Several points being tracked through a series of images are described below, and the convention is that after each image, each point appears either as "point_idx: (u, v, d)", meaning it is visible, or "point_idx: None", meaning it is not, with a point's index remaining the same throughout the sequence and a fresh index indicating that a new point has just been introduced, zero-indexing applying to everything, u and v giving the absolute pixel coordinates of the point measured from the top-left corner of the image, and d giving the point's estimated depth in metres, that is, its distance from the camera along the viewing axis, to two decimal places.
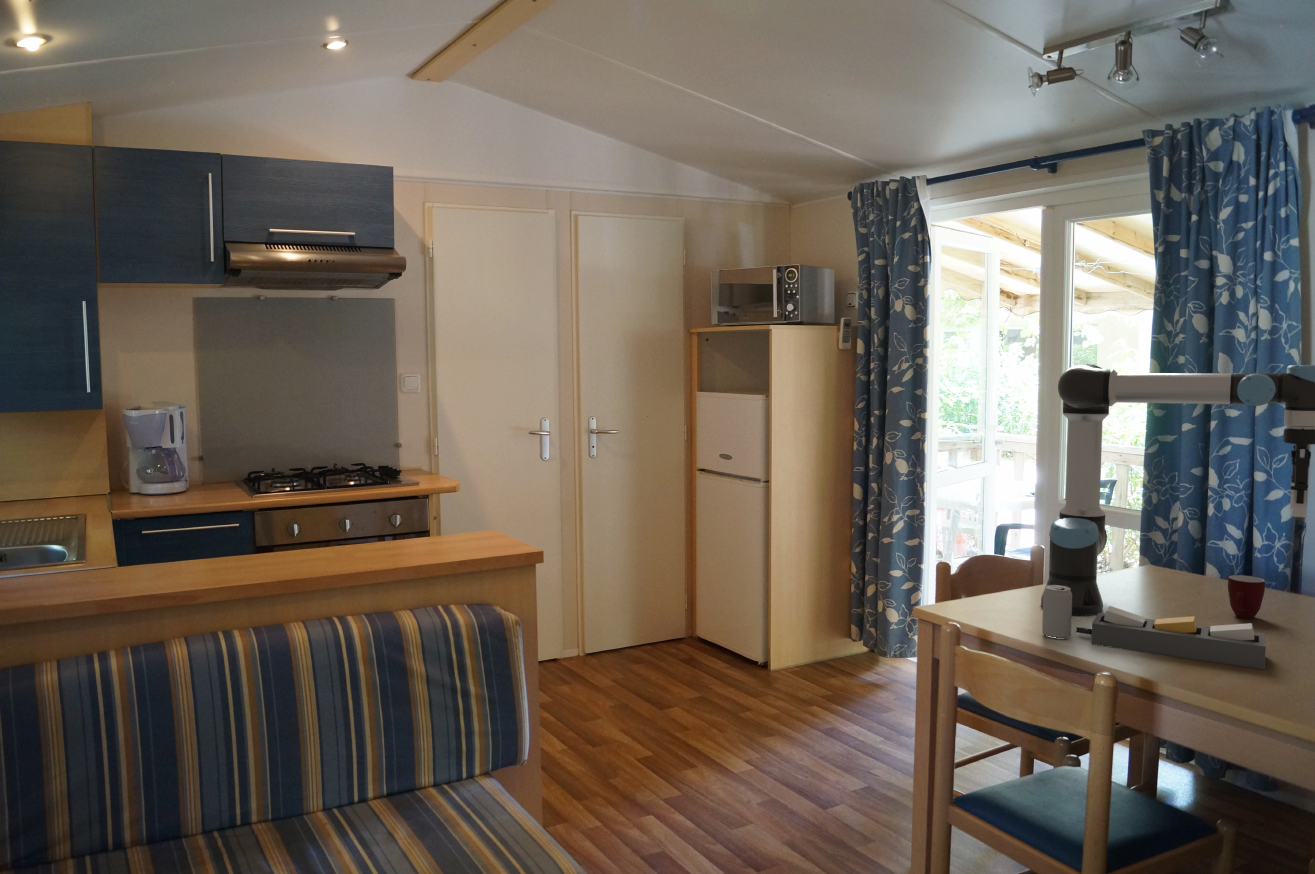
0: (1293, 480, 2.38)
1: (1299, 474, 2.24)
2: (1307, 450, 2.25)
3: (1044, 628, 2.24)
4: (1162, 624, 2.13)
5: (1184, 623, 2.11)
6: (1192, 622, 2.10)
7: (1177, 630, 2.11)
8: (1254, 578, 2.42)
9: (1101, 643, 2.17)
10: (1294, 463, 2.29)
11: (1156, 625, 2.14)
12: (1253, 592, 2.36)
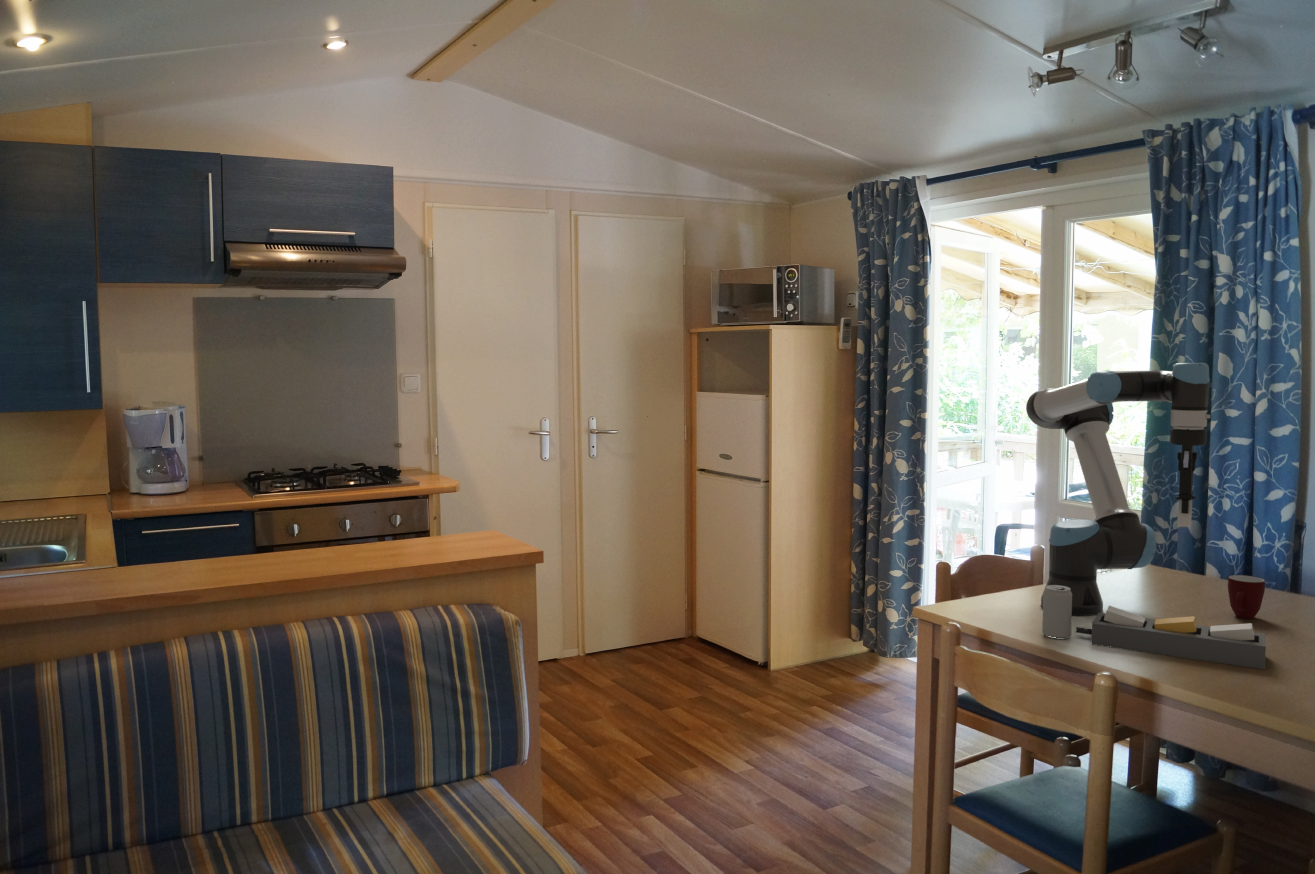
0: None
1: (1183, 485, 2.19)
2: (1190, 462, 2.17)
3: (1044, 628, 2.24)
4: (1162, 624, 2.13)
5: (1184, 623, 2.11)
6: (1192, 622, 2.10)
7: (1177, 630, 2.11)
8: (1254, 578, 2.42)
9: (1101, 643, 2.17)
10: (1179, 469, 2.22)
11: (1156, 625, 2.14)
12: (1253, 592, 2.36)
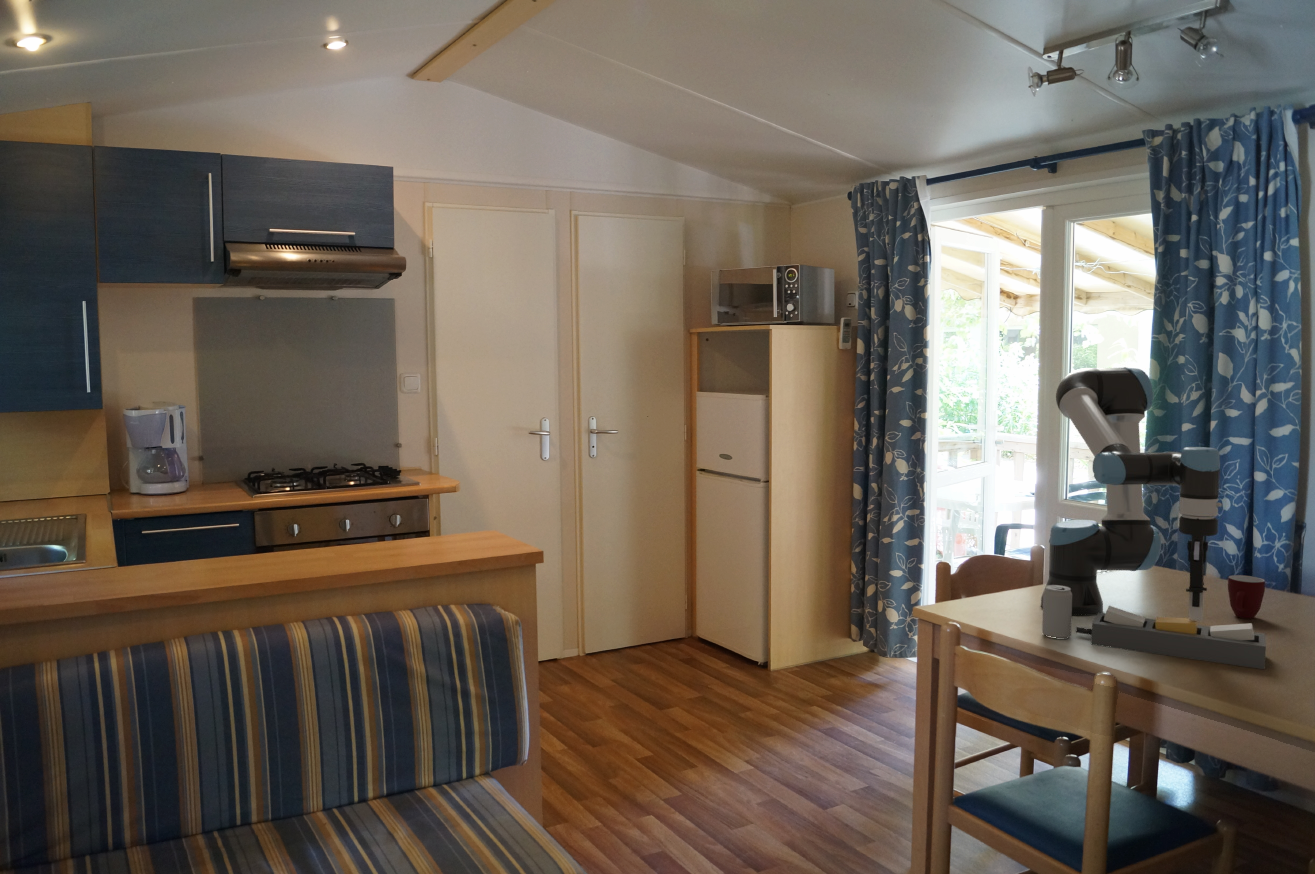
0: None
1: (1193, 578, 2.07)
2: (1201, 554, 2.05)
3: (1044, 628, 2.24)
4: (1163, 623, 2.13)
5: (1185, 624, 2.10)
6: (1194, 624, 2.10)
7: (1178, 631, 2.11)
8: (1254, 578, 2.42)
9: (1101, 643, 2.17)
10: (1190, 560, 2.10)
11: (1157, 623, 2.14)
12: (1253, 592, 2.36)
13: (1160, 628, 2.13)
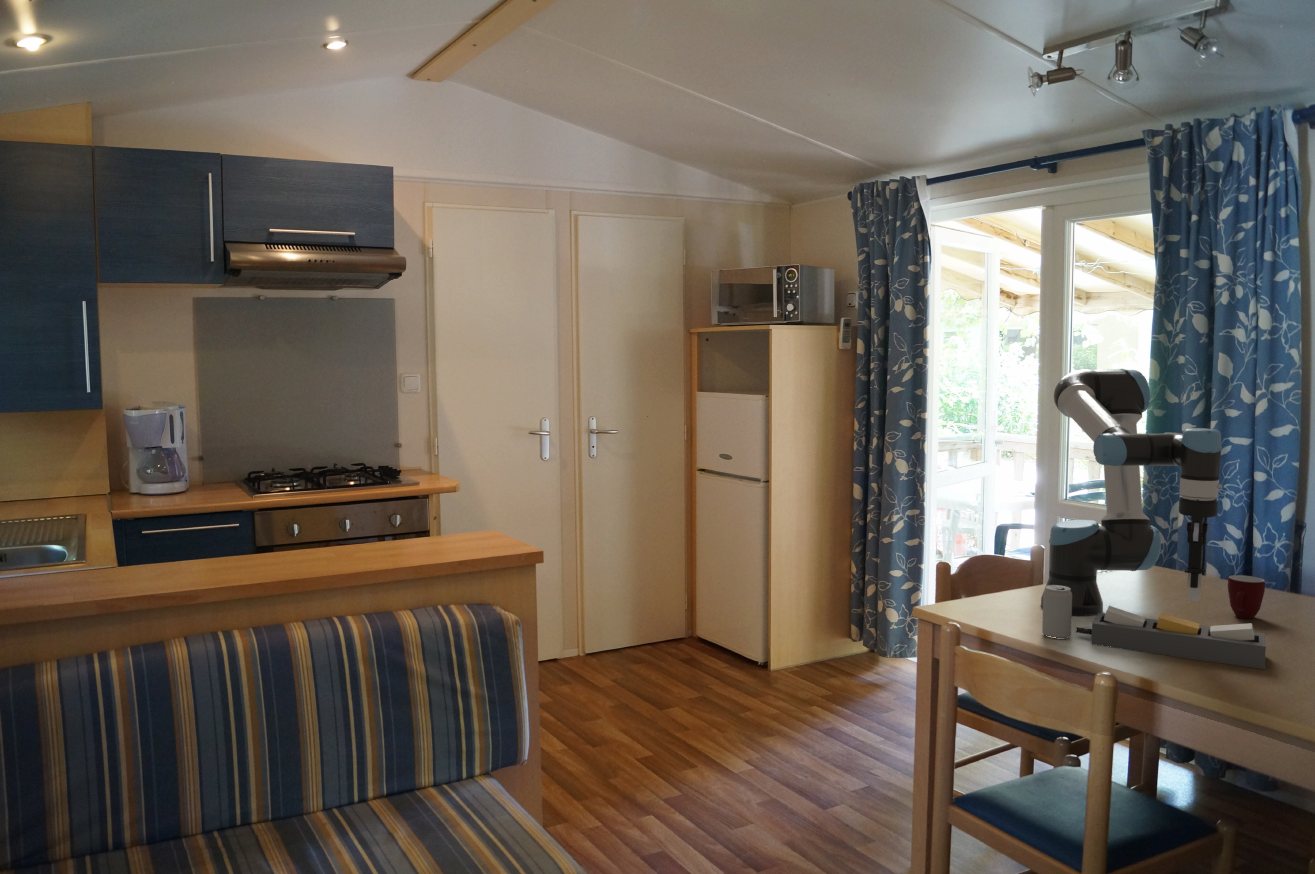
0: None
1: (1192, 559, 2.07)
2: (1200, 536, 2.04)
3: (1044, 628, 2.24)
4: (1166, 620, 2.12)
5: (1188, 627, 2.10)
6: (1196, 629, 2.09)
7: (1179, 631, 2.11)
8: (1254, 578, 2.42)
9: (1101, 643, 2.17)
10: (1189, 541, 2.10)
11: (1160, 619, 2.13)
12: (1253, 592, 2.36)
13: (1162, 625, 2.13)
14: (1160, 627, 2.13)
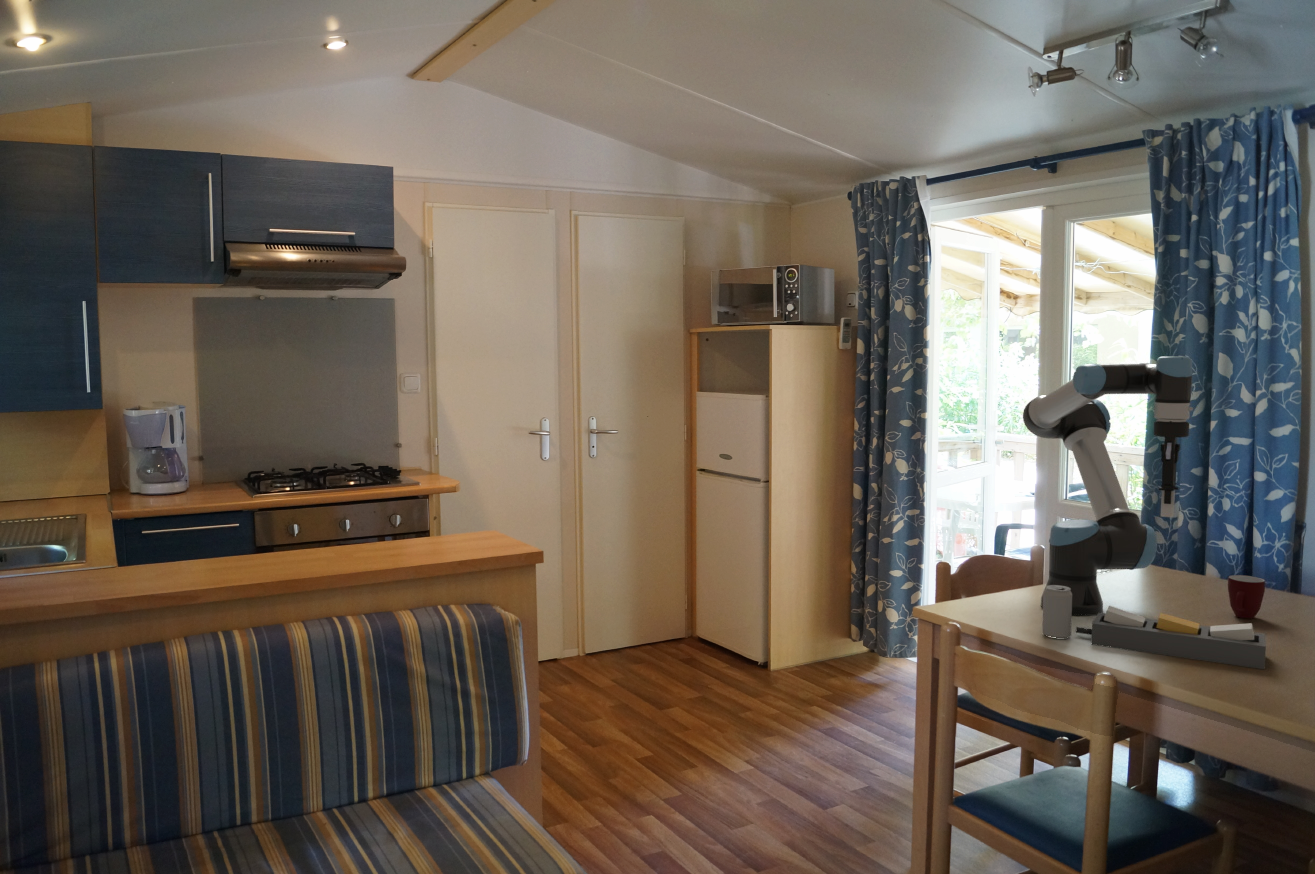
0: None
1: (1165, 476, 2.24)
2: (1172, 453, 2.21)
3: (1044, 628, 2.24)
4: (1166, 620, 2.12)
5: (1188, 627, 2.10)
6: (1196, 629, 2.09)
7: (1179, 631, 2.11)
8: (1254, 578, 2.42)
9: (1101, 643, 2.17)
10: None
11: (1160, 619, 2.13)
12: (1253, 592, 2.36)
13: (1162, 625, 2.13)
14: (1160, 627, 2.13)
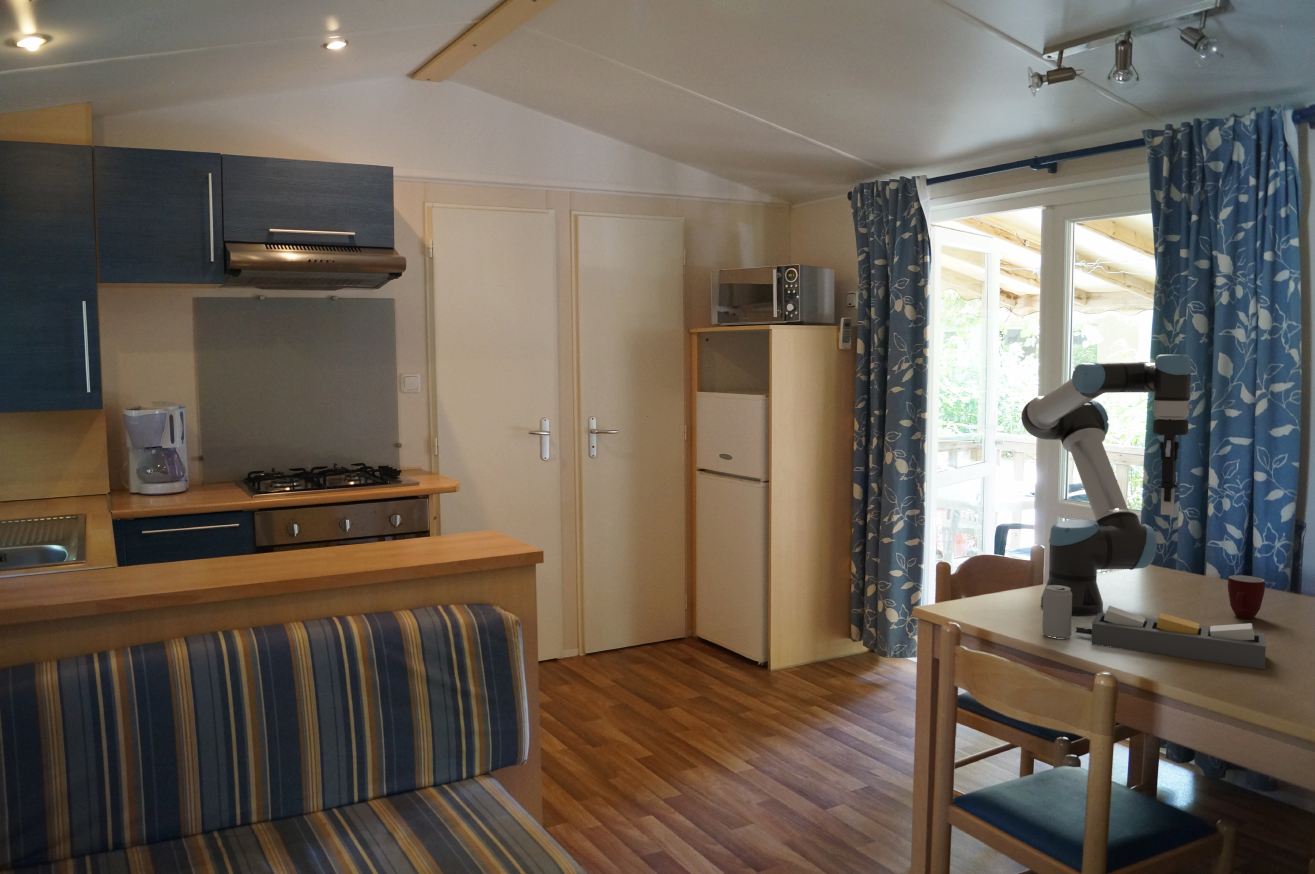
0: None
1: (1165, 474, 2.25)
2: (1172, 451, 2.22)
3: (1044, 628, 2.24)
4: (1166, 620, 2.12)
5: (1188, 627, 2.10)
6: (1196, 629, 2.09)
7: (1179, 631, 2.11)
8: (1254, 578, 2.42)
9: (1101, 643, 2.17)
10: None
11: (1160, 619, 2.13)
12: (1253, 592, 2.36)
13: (1162, 625, 2.13)
14: (1160, 627, 2.13)
